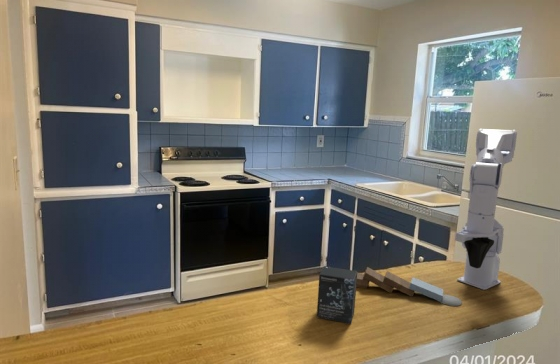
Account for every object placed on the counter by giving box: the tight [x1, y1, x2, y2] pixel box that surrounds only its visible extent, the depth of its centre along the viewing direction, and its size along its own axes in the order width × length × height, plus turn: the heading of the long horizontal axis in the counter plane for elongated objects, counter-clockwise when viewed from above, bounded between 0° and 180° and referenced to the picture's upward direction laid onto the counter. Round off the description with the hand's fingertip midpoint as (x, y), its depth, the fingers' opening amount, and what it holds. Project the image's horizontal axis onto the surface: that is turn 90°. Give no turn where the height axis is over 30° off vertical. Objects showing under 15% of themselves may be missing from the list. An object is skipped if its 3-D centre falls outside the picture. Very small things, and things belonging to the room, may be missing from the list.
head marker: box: [436, 294, 463, 307], centre depth 102 cm, size 6×6×1 cm
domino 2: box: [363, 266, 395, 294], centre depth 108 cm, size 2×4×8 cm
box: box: [316, 265, 358, 325], centre depth 91 cm, size 8×6×11 cm
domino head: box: [409, 277, 444, 303], centre depth 104 cm, size 2×4×8 cm
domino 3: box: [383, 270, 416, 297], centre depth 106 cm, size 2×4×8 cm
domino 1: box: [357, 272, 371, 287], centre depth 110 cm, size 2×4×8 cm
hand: (474, 266), depth 98 cm, fingers closed
